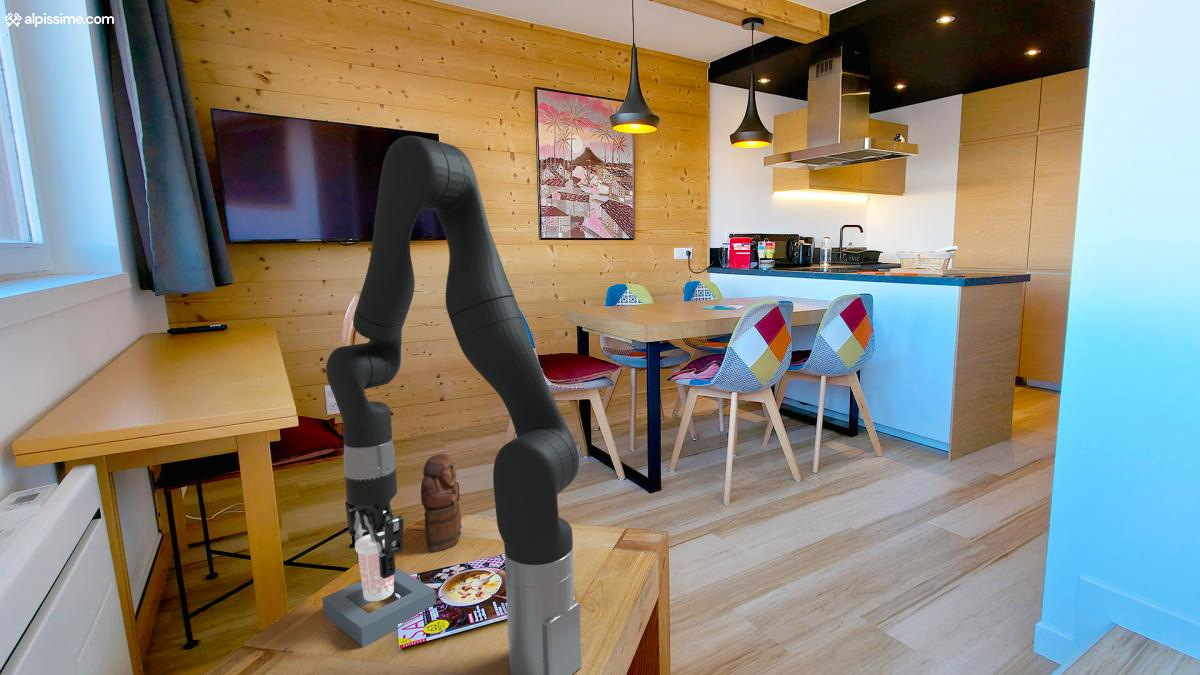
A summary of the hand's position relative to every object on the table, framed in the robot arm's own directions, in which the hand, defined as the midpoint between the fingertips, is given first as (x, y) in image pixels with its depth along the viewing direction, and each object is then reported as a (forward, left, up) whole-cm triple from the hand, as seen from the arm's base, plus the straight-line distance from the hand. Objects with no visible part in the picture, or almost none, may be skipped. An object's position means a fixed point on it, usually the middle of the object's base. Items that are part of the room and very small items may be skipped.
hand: (377, 568), depth 91 cm
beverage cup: (0, 0, -4) cm, 4 cm away
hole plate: (0, 0, -7) cm, 7 cm away
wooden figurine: (+13, -22, -8) cm, 26 cm away
